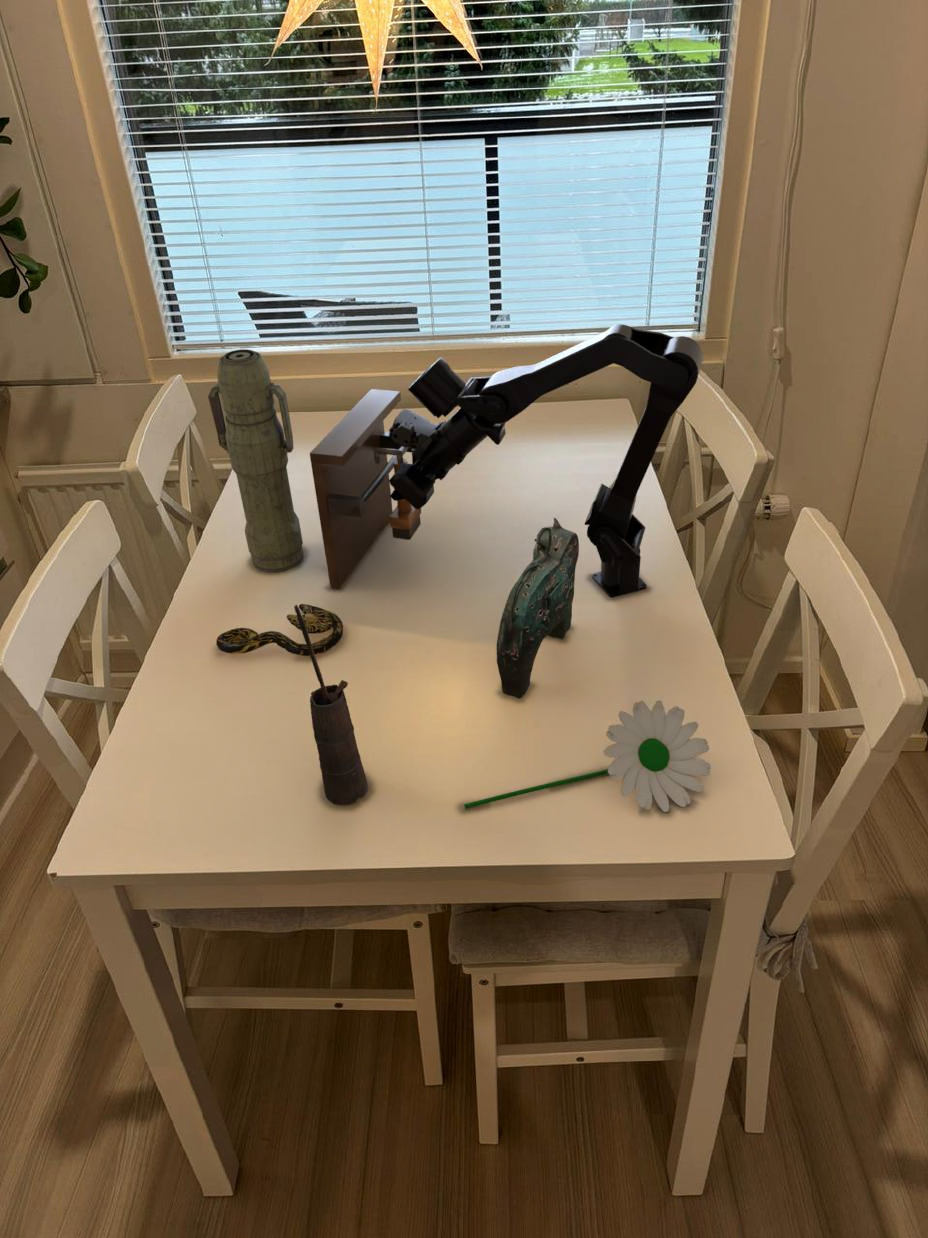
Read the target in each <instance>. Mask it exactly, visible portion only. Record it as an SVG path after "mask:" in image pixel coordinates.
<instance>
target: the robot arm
mask: <svg viewBox="0 0 928 1238" xmlns="http://www.w3.org/2000/svg"><path fill="white" fill-rule="evenodd" d="M703 360H704V352H703V349H702V348H701V345H700V344H699V343H698V342H697V341H696V340H695V339H694V338H691V337H690V336H689V337H688V336H684V335H682V336H680V335H679V336H671V335H669V334H666V333H663V332H660V331H654V330H653V331H652V330H647V329H638V328H635V327H632V326H630V325H627V324H621V323H618V324H614V325H612V326H610V328H608V329H607V330H605V331H603V332H601V333H599V334H597V335H595V336H592V337H590V338H589V339H587V340H584V341H582V342H580V343H578V344H576V345H574V346H572V347H569V348H568V349H565V350H562V351H561V352H559V353H557V354H555V355H553V356H551V357H548V358H546V359H544V360H542V361H539V362H538V363H534V364H530V365H517V366H514V367H510V368H506V369H503V370H498V371H496V372H495V373H494V374H492V375H490V376H479V377H478V376H476V377H470V378H469V379H468V381H467V382H464V380H463V379H462V378H461V377H460V376H459V375H458V374H457V373H456V372H455V371H454V370H453V369H452V368H451V366H450V365H449V363H448V362H447V361H446V360H445V359H444V358H443V357H439V358H438V359H437V360H436V361H435V362H434V363H433V364H431V365H428V367H427V368H426V369H425V370H424V371H423V372H422V373H421V374H420V375H419V376H418V377H417V378H416V379H415V380H414V381H413V382H412V384H411V385H410V386H409V387H408V388H407V391H409V393H411V395H412V396H414V398H415V399H416V400H417V401H418V402H419V403H420V404H422V406H423V407H424V408H425V409H426V410H427V411H428V412H429V413H430V414H432V416H433V417H436V418H437V419H440V418H441V417H442V416H443V418H446V417H447V416H448V415H450V414H451V412H452V411H453V410H455V409H456V408H457V406H458V407H460V408H459V409H457V411H456V412H455V413H453V414H452V415H451V416H450V417H449V418H448V419H447V420H444V421H443V420H441V421H440V422H439V423H432V422H431V421H430V420H429V419H427V418H425V417H424V416H422V415H420V414H418V413H416V412H415V411H413V410H411V409H408V408H403V409H402V410H401V411H400V412H399V413H398V414H397V415H396V416H395V418H394V420H393V423H392V426H391V427H390V428H389V430H388V432H390V433H389V437H390V438H391V439H392V441H393V442H395V443H397V444H399V445H401V446H403V447H405V448H406V447H410V448H412V449H413V451H412V452H411V462H412V463H409V462H408V463H406V462H405V461H404V462H403V464H402V465H401V466H400V467H399V469H398V470H397V471H396V472H395V474H392V476H391V477H390V478H389V481H390V487H392V488H393V489H394V490H393V491H391V495H390V497H391V500H393V501H395V502H397V500H402V499H406V500H407V501H408V502H409V503H410V504H411V505H412V506H413V507H414V508H415V509H421V510H422V508H423V507H425V505H427V503H428V502H429V501H430V499H431V498H432V497H433V495H434V494H435V484H436V481H437V480H440V481H442V480H444V478H446V476H447V475H448V473H449V472H450V470H452V469H453V468H454V467H455V466H459V465H460V464H462V462H463V461H464V460H465V459H466V457H467V455H469V454H470V453H471V452H472V451H473V450H474V449H475V448H476V447H477V446H478V445H480V444H481V443H482V442H483V441H485V439H487V438H489V439H490V440H491V441H492V442H493V444H495V445H497V446H499V445H500V444H501V442H502V441H503V440H504V438H505V436H506V423H507V422H509V421H510V420H512V419H514V418H515V417H516V416H518V415H519V414H521V413H522V412H524V411H525V410H526V409H527V408H528V407H530V406H531V405H532V404H533V403H534V402H535V401H537V400H538V399H539V398H541V397H542V396H544V395H547V394H549V393H551V392H553V391H555V390H557V389H559V388H562V387H564V386H566V385H568V384H571V383H573V382H575V381H577V380H580V379H582V378H584V377H586V376H588V375H591V374H593V373H595V372H598V371H600V370H602V369H604V368H607V367H609V366H611V365H613V364H614V365H617V366H620V367H623V368H624V369H626V370H627V371H629V372H630V373H632V374H633V375H635V376H636V377H638V378H640V379H641V380H643V381H646V382H649V383H650V385H649V389H648V396H647V401H646V406H645V408H644V411H643V413H642V415H641V418H640V420H639V423H638V424H637V427H636V430H635V432H634V435H633V437H632V439H631V442H630V444H629V447H628V449H627V450H626V453H625V456H624V458H623V461H622V463H621V465H620V468H619V470H618V472H617V475H616V476H615V477H616V478H615V479H614V481H613V482H612V483H611V484H610V485H609V486H607V485H605V484H603V483H600V485H599V487H598V490H597V493H596V495H595V497H594V500H593V502H592V503H591V506H590V508H589V512H588V514H587V516H586V519H585V521H584V525H585V526H588V527H587V530H586V536H587V538H588V540H589V542H590V543H591V544H592V545H593V546H594V547H595V548H596V550H597V553H598V556H599V559H600V572H597V573H593V574H592V575H591V578H592V579H593V580H594V582H595V583H596V584H597V585H598V587H599V588H600V589H601V590H602V591H603V592H604V593H605V594H606V596H608V597H609V598H611V599H613V598H614V599H615V598H617V597H622V596H625V595H628V594H633V593H636V592H640V591H644V590H647V588H648V584H647V583H646V582H645V581H644V580H643V579H642V578H641V577H640V572H641V559H642V556H641V545H642V541H643V539H644V534H645V531H646V526H645V525H644V524H643V523H642V522H641V520H639V519H638V518H637V516H635V515H634V511H635V510H634V509H635V507H636V506H635V505H636V502H637V501H636V500H637V495H638V491H639V490H640V488H641V485H642V483H643V481H644V478H645V476H646V473H647V471H648V470H649V467H650V465H651V462H652V460H653V458H654V455H655V454H656V452H657V449H658V447H659V444H660V443H661V440H662V438H663V436H664V433H665V431H666V428H667V426H668V424H669V422H670V420H671V418H672V417H673V415H674V414H675V412H676V411H677V410H678V409H679V408H680V407H681V406H682V404H683V403H684V402H685V400H686V398H687V397H688V396H689V394H690V393H691V391H692V390H693V388H695V386H696V384H697V381H698V377H699V374H700V371H701V368H702V363H703Z"/></svg>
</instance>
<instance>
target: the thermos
mask: <svg viewBox="0 0 928 1238" xmlns="http://www.w3.org/2000/svg"><path fill="white" fill-rule="evenodd" d="M217 368H218V369H217V376H216V378H217V384H215V385H214V386H213V387H211V389H210V392H209V394H208V396H207V399H208V402H209V406H210V410H211V414H212V418H213V421H214V427H215V430H216V434H217V439H218V445H219V446H220V447H221V448H222V449H223V450H224V451H225V452H227V454H228V458H229V461H230V466H231V469H232V471H233V472H234V473H235V475H236V479H237V483H238V484H237V485H238V488H239V494H240V499H241V504H242V509H243V513H244V518H245V527H244V534H245V539H246V543H247V548H248V552H249V554H251V563H252V566H253V567H254V568H255V569H256V570H258V571H260V572H264V573H273V574H274V573H283V572H286V571H289V570H292V569H294V568H296V567H298V566H299V565H300V564H301V563H302V562H303V561H304V558H305V554H304V553H305V552H304V549H303V544H304V541H303V536H302V530H301V523H300V518H299V516H298V515H297V513H296V511H295V508H294V503H293V497H292V496H293V495H292V492H291V491H292V490H291V486H290V485H291V484H290V480H289V474H288V468H287V466H288V463H289V456H288V453H292V452H293V450H294V436H293V429H292V423H291V417H290V411H289V404H288V400H287V393H286V392H285V391H284V390H283V388H282V387H281V386H280V385H277V384H275V383H274V382H272V380H271V375H270V370H269V367H268V366H267V364H266V362H265V360H264V358H263V357H262V354H261V353H259V352H258V351H255V350H252V349H247V348H245V349H244V348H243V349H241V348H240V349H235V350H231V351H229V352H226V353H225V354H223V355H222V356H220V358H219V359H218V367H217ZM274 396H275V397H276V398H277V399H278V405H279V410H280V416H281V421H280V419H279V418H278V416H277V410H276V409H275V406H274V405H275V399H274ZM223 411H224V412H225V417H224V413H223Z"/></svg>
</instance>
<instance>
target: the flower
mask: <svg viewBox="0 0 928 1238" xmlns="http://www.w3.org/2000/svg"><path fill="white" fill-rule="evenodd" d="M632 704H633V705H632V714H633V715H632V714H631V713H629V712H626V711H622V710H620V711H618V718H619V722H620V723H621V724H622V725H621V724H612V725H608V728H607V729H608V730H607V731H606V737H607V738H608V739H609V740H610V741H611V742H614V743H612V744H610V745H608V746H607V747H605V748H604V750H603V755H604V756H605V757H608V758H611V759H612V758H615V759H613V760H612V762H611V763H610V764H609V766H608V768H607V769H603V770H599V771H595V772H590V773H587V774H582V775H578V776H574V777H570V778H565V779H561V780H556V781H552V782H548V783H547V782H546V783H543V784H539V785H535V786H530V787H528V788H523V789H519V790H514V791H510V792H507V793H502V794H498V795H495V796H491V797H487V798H483V799H480V800H476V801H471V802H468V803H464V804H463V806H464V809H465V810H468V809H472V808H474V807H478V806H482V805H486V804H490V803H493V802H498V801H501V800H505V799H509V798H513V797H514V798H515V797H517V796H522V795H525V794H530V793H535V792H539V791H542V790H546V789H551V788H556V787H559V786H564V785H568V784H571V783H577V782H580V781H585V780H589V779H593V778H597V777H601V776H605V775H609V778H610V780H611V781H612V782H614V781H619V780H620V779H622V778H623V779H622V783H621V789H620V791H621V795H622V796H623V797H625V798H626V797H627V798H628V797H629V796H630V795H631V794H632V792H633V791H634V790H635V792H634V793H635V800H636V803H637V806H638V807H639V808H643V809H644V810H648V811H649V810H650V809H651V807H652V804H653V799H654V801H655V802H656V805H657V806H658V807H659V809H660V810H661V811H662V812H663V813H667V812H669V811H670V802H669V799H670V800H671V801H672V802H674V803H675V805H677V806H678V807H680V808H682V809H684V808H686V807H687V806H689V805H691V803H692V801H691V797H690V796H689V793H688V792H687V791H686V789H688V790H691V791H693V792H695V793H703V791H704V787H703V785H702V783H700V781H699V780H697V779H696V778H695V777H693V776H697V777H708V776H710V774H711V768H712V767H711V764H710V763H709V762H707V761H706V760H704V759H701V758H697V757H698V756H701V755H703V754H706V753H707V752H708V751H709V750H710V745H709V743H708V740H707V739H706V738H703V737H693V736H694V734H695V733H696V732H697V730H698V728H699V723H698V722H697V721H691V722H687V723H685V724H683V723H684V718H685V710H684V709H683V708H680V707H679V706H677V705H674V706H673V707H671V708H670V709H668V711H667V713H666V711H665V708H664V704H663V702H662V700H660V699H659V700H656V701H655V703H654V705H652V709H650V707H649V706H648V705H647V704H646V702H645V701H643V700H640V701H638V702H637V701H636V702H634V703H632ZM692 737H693V738H692ZM684 788H685V789H684ZM668 797H669V798H668Z"/></svg>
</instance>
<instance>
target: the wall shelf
mask: <svg viewBox="0 0 928 1238" xmlns="http://www.w3.org/2000/svg"><path fill="white" fill-rule="evenodd" d="M401 401H402V395H401V391H400V390H389V389H378V388H377V389H375V388H371V389H370V390H369V391H368V392H367V393H366V394H365V395H363V397H362V398H361V399H360V400H359V401H358V402H357V403H356V404H355V405H354V406H353V407H352V409H351V410H350V411H349V412H348V413H347V414H346V415H345V416H343V418H341V420H340V421H339V422H338V423H337V424H336V425H335V426H334V427H333V428H332V429H331V430H330V431H329V432H328V433H327V435H325V436H324V437H323V439H321V440H320V442H319V443H318V444H316V446H315V447H314V448H313V449H312V450H311V451H310V452H309V458H310V465H311V472H312V479H313V484H314V491H315V498H316V504H317V510H318V516H319V517H318V518H319V523H320V530H321V537H322V541H323V548H324V555H325V561H326V569H327V575H328V581H329V587H330V589H333V590H340V589H341V588H342V587H343V585H344V584H345V583H346V581H347V580H348V579H349V577H350V576H351V574H352V573H353V571H354V570H355V569H356V567H357V566H358V565H359V563H360V562H361V560H362V559H363V558H364V557H365V555H366V553H367V552H368V551H369V549H370V548H371V547H372V545H373V544H374V542H375V541H376V539H377V538H378V537H379V535H380V534H381V533H382V531H384V529H385V527H386V526H387V525H388V523H390V521H389V516H390V515H391V514H392V512H393V511H394V509H393V501H392V498H391V497H390V495H391V494H392V491H391V484H390V481H389V480H390V473H391V472H392V470H394V464H393V462H394V460H396V459H397V455H392V457H391V458H390V459H389V460H388V455H387V454H380V459H381V462H380V463H379V464H376V463H375V457H374V449H375V448H386V449H396V450H401V451H402V453H403V456H404V455H405V454H406V453H412V451H413V449H412V448H410V447H406V448H405V447H403V446H401V445H399V444H397V443H395V442H393V441H392V439H391V438H390V437H389V433H390V432H389V431H385V423H384V421H385V420H386V419H387V417H388V416H389V415H390V414H391V413H392V412H393V410H394V409H395V408H396V407H397V406H398V405H399V403H400V402H401Z"/></svg>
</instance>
